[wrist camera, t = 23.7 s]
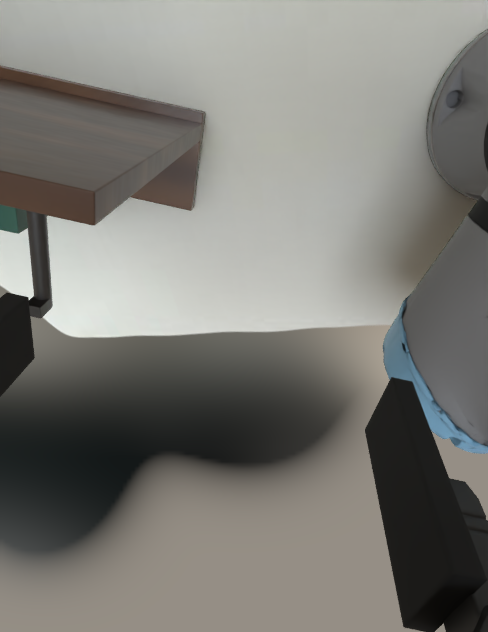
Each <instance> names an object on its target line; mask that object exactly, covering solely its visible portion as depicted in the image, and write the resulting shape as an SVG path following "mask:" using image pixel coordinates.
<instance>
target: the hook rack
mask: <svg viewBox="0 0 488 632" xmlns="http://www.w3.org/2000/svg"><path fill="white" fill-rule="evenodd" d="M204 121H205V112H203V111H199V110H194V109H190V108H185V107H181V106H177V105H172V104H168V103H163V102H159V101H154V100H150V99H146V98H141V97H137V96H132V95H128V94H124V93H119V92H115V91H110V90H106V89H102V88H97V87H93V86H88V85H84V84H80V83H75V82H71V81H66V80H62V79H57V78H53V77H49V76H44V75H40V74H35V73H31V72H27V71H22V70H18V69H13V68H9V67H5V66H0V205H4V206H8V207H13V208H17V209H22V210H26V213H27V224H28V235H29V245H30V256H31V267H32V277H33V288H34V296H33V297H32V298H31V299H30V300H29V309H30V316H32V317H37V318H42V317H43V316H44V315H45V314H46V313H47V312H48V311H49V310H50V309H51V308H52V306H53V304H52V289H51V274H50V259H49V244H48V230H47V215H49V216H53V217H58V218H62V219H67V220H71V221H76V222H80V223H85V224H89V225H96V224H97V223H98V222H100V221H101V220H102V219H103V218H104V217H106V216H107V215H108V214H109V213H111V212H112V211H113V210H114V209H116V208H117V207H118V206H119V205H121V204H122V203H123V202H124V201H126V200H127V199H128V198H129V197H132V198H137V199H141V200H145V201H150V202H154V203H159V204H163V205H168V206H172V207H177V208H181V209H186V210H190V211H191V210H192V209H193V207H194V199H195V191H196V183H197V176H198V168H199V160H200V152H201V144H202V137H203V129H204Z"/></svg>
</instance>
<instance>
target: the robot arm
mask: <svg viewBox="0 0 488 632" xmlns="http://www.w3.org/2000/svg"><path fill="white" fill-rule="evenodd" d="M427 144H428V150H429V154H430V157H431V160H432V162H433V164H434V166H435V168H436V170H437V171H438V173H439V175H440V176H441V177H442V178H443V179H444V180H445V181H446V182H447V183H448V184H449V185H450V186H452V187H453V188H454V189H456V190H457V191H458V192H460V193H461V194H463V195H465V196H467V197H469V198H472V199H474V200H478V201H477V203H476V204H475V205H474V207H473V208H472V210H471V211H470V212H469V213H468V215H467V216H466V217H465V219H464V220H463V222H462V223H461V225H460V226H459V228H458V229H457V230H456V232H455V233H454V235H453V236H452V238H451V239H450V240H449V242H448V243H447V245H446V246H445V248H444V249H443V250H442V252H441V253H440V255H439V256H438V257H437V259H436V260H435V262H434V263H433V264H432V266H431V267H430V269H429V270H428V271H427V273H426V274H425V276H424V277H423V278H422V280H421V281H420V283H419V284H418V285H417V287H416V288H415V289H414V291H413V292H412V294H410V295H409V296H408V297H407V298H406V299H405V300H404V301H403V303H402V305H401V308H400V310H399V314H398V316H397V318H396V319H395V321H394V322H393V324H392V326H391V327H390V329H389V330H388V332H387V334H386V336H385V339H384V343H383V352H384V365H385V369H386V371H387V374H388V377H389V379H390V381H389V383H388V385H387V387H386V389H385V391H384V393H383V395H382V397H381V399H380V401H379V403H378V405H377V407H376V409H375V411H374V413H373V415H372V417H371V419H370V421H369V423H368V425H367V427H366V429H365V433H366V438H367V443H368V448H369V453H370V458H371V464H372V469H373V474H374V479H375V484H376V489H377V494H378V499H379V505H380V510H381V515H382V520H383V525H384V530H385V535H386V539H387V545H388V550H389V555H390V560H391V566H392V571H393V576H394V581H395V585H396V591H397V596H398V601H399V606H400V612H401V617H402V622H403V626H404V627H405V628H410V629H415V630H419V631H424V632H435V631H436V630H437V629H438V628H439V627H440V626H441V625H442V624H443V623H444V626H445V630H446V632H488V521H487V520H486V515H485V513H484V511H483V508H482V506H481V504H480V501H479V499H478V498H477V496H476V495H475V494H474V493H473V491H472V490H471V489H470V488H469V486H468V485H467V484H466V482H463V481H459V480H454V479H450V478H449V477H448V474H447V472H446V469H445V466H444V464H443V461H442V459H441V456H440V453H439V450H438V448H437V445H436V443H435V440H434V437H433V434H432V432H433V433H435V434H436V435H438V436H439V437H441V438H442V439H447V438H450V439H451V441H452V443H453V444H454V445H455V446H456V447H458V448H460V449H462V450H465V451H468V452H472V453H480V454H482V453H483V454H485V453H488V29H487V30H486V31H484V32H483V33H481V34H480V35H479V36H478V37H476V38H475V39H474V40H473V41H472V42H471V43H470V44H469V45H467V46H466V47H465V48H464V49H463V50H462V52H461V53H460V54H459V55H458V56H457V57H456V59H455V60H454V61H453V63H452V64H451V65H450V67H449V68H448V70H447V71H446V73H445V74H444V76H443V78H442V80H441V81H440V83H439V85H438V87H437V90H436V92H435V94H434V97H433V100H432V103H431V106H430V110H429V115H428V121H427ZM33 359H34V348H33V338H32V329H31V319H30V309H29V300H28V297H25V296H20V295H15V294H11V293H6V294H4V295H3V296H2V297H1V298H0V396H1V395H2V394H3V393H4V392H5V391H6V390H7V389H8V387H9V386H10V385H11V384H12V383H13V382H14V381H15V380H16V378H17V377H18V376H19V375H20V374H21V373H22V372H23V370H24V369H25V368H26V367H27V366H28V365H29V364H30V363H31V362H32V360H33ZM431 431H432V432H431Z"/></svg>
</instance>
